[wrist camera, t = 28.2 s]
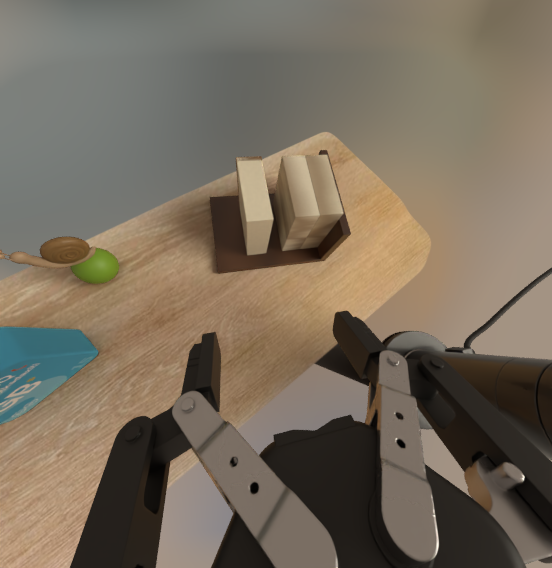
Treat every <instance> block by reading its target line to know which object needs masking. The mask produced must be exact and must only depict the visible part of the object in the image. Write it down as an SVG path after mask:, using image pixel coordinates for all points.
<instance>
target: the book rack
mask: <svg viewBox="0 0 552 568" xmlns="http://www.w3.org/2000/svg"><path fill="white" fill-rule="evenodd" d="M269 199H270V204H271V209H272V214H273V224H272V228H271V233H270V238H269V243H268V247H267V252H266V253H263V254H255V255H247V251H246V245H245V238H244V232H243V226H242V219H241V213H240V208H239V196H224V197H210V204H211V213H212V222H213V231H214V240H215V249H216V258H217V267H218V273H227V272H235V271H244V270H252V269H260V268H268V267H276V266H284V265H293V264H301V263H309V262H317V261H324V260H325V259H326V258H327V257H328V256H329V255H330V254H331V253H332V252H333V251H334V250H335V249H336V248H337V247H338V246H339V245H340V244H341V243H342V242H343V241H344V240H345V239H346V238H347V237H348V236H349V235H350V234H351V233H350V229H349V226H348V222H347V219H346V215H345V212H344V208H343V205H342V201H341V198H340V194H339V191H338V187H337V184H336V180H335V177H334V173H333V170H332V166H331V163H330V159H329V156H328V152H327V150H320V152H319V155H305V156H282V159H281V164H280V169H279V175H278V180H277V186H276V191H275V194H269Z"/></svg>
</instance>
